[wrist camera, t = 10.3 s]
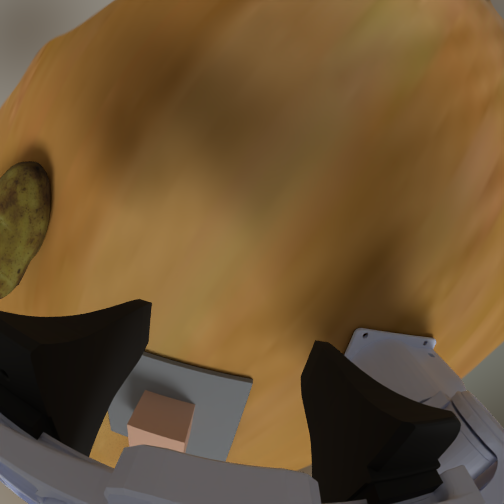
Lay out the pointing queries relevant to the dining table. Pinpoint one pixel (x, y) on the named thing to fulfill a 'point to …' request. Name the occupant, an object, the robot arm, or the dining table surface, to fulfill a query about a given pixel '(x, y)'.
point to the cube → (161, 422)
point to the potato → (21, 220)
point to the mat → (191, 391)
